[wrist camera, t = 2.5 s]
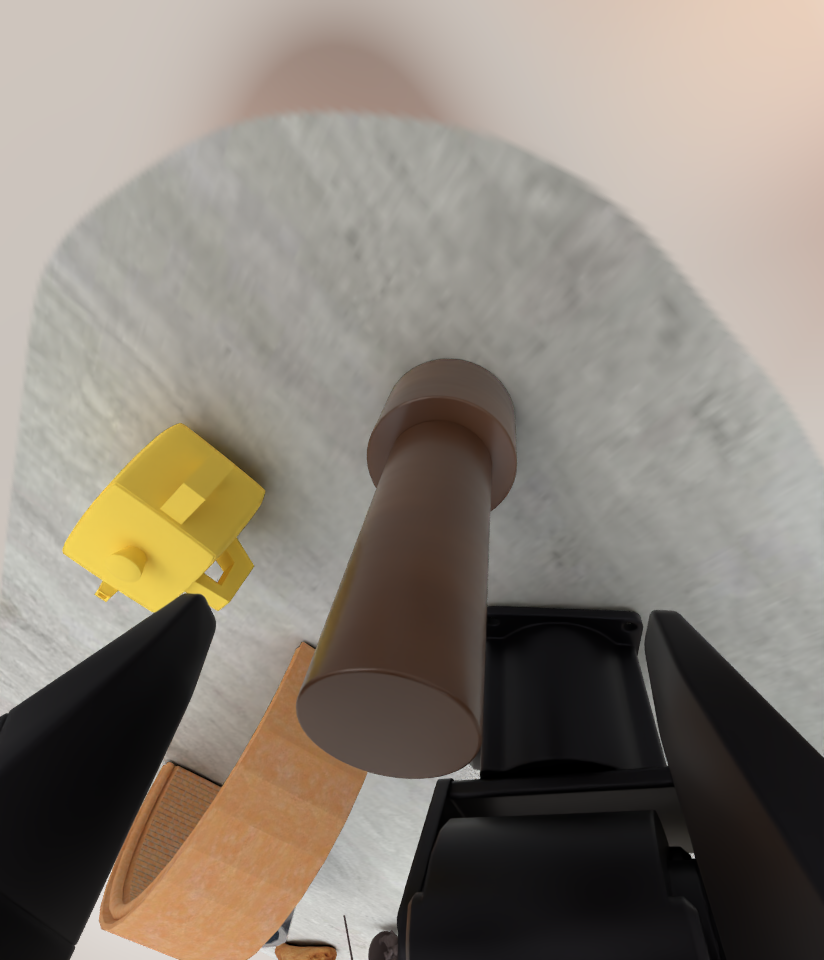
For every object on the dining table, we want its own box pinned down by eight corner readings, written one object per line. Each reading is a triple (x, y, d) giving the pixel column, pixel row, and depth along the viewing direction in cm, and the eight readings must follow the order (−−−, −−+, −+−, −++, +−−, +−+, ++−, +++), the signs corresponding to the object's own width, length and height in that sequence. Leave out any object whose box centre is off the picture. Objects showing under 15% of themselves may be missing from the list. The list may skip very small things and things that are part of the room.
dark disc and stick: (363, 1035, 41) (385, 1024, 39) (342, 916, 47) (360, 900, 45) (416, 1010, 44) (439, 998, 42) (390, 900, 50) (409, 885, 48)
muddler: (514, 354, 15) (532, 646, 6) (514, 474, 18) (527, 814, 9) (377, 361, 16) (214, 630, 7) (394, 475, 18) (289, 786, 9)
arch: (394, 697, 26) (343, 948, 18) (231, 799, 36) (150, 989, 28) (303, 641, 25) (202, 886, 16) (160, 764, 35) (53, 953, 27)
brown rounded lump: (269, 930, 55) (288, 938, 58) (261, 958, 53) (281, 964, 56) (330, 946, 52) (346, 953, 55) (323, 975, 51) (340, 981, 54)
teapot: (221, 578, 23) (157, 674, 19) (112, 500, 21) (14, 586, 17) (324, 488, 19) (273, 582, 15) (201, 383, 18) (105, 457, 13)
